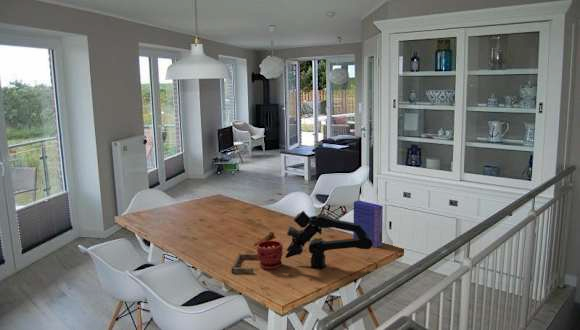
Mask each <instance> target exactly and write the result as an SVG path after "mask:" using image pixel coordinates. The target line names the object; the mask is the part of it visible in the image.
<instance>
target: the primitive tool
mask: <svg viewBox="0 0 580 330" xmlns="http://www.w3.org/2000/svg"><path fill="white" fill-rule="evenodd" d="M274 237H275V233H274V232H273V231H270V232H269V233H268V234H266V236H265V237H263V238H261V239H260V240H258V241H257V242H255V243H254V244H253V246H255V247H257V245H258V244H259V243H261V242H264V241H270V240H271V238H274Z"/></svg>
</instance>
